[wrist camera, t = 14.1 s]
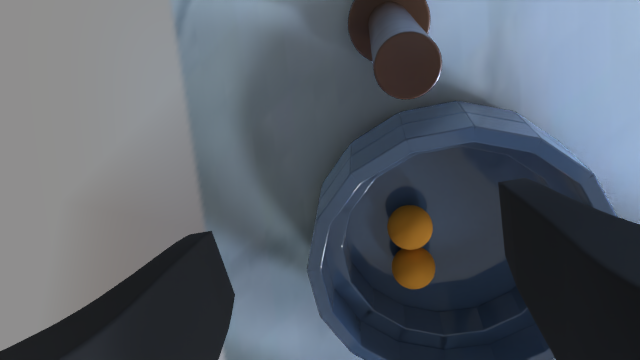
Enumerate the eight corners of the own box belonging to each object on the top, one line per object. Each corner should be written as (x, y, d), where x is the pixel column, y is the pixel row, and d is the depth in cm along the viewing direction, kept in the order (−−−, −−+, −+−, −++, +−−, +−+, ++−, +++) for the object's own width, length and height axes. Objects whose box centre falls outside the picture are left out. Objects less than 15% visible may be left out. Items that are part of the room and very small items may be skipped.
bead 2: (411, 291, 21) (422, 246, 22) (378, 280, 23) (388, 238, 23) (438, 296, 23) (448, 254, 23) (405, 285, 24) (414, 246, 24)
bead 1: (374, 241, 22) (390, 231, 24) (414, 263, 21) (428, 251, 23) (389, 201, 21) (405, 194, 23) (431, 222, 20) (445, 213, 22)
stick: (435, -17, 19) (492, 1, 11) (420, 65, 20) (461, 138, 12) (353, -26, 19) (348, -14, 11) (343, 56, 21) (332, 123, 12)
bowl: (575, 72, 20) (622, 97, 16) (581, 308, 25) (619, 368, 21) (289, 129, 22) (276, 163, 18) (345, 338, 27) (343, 398, 23)
